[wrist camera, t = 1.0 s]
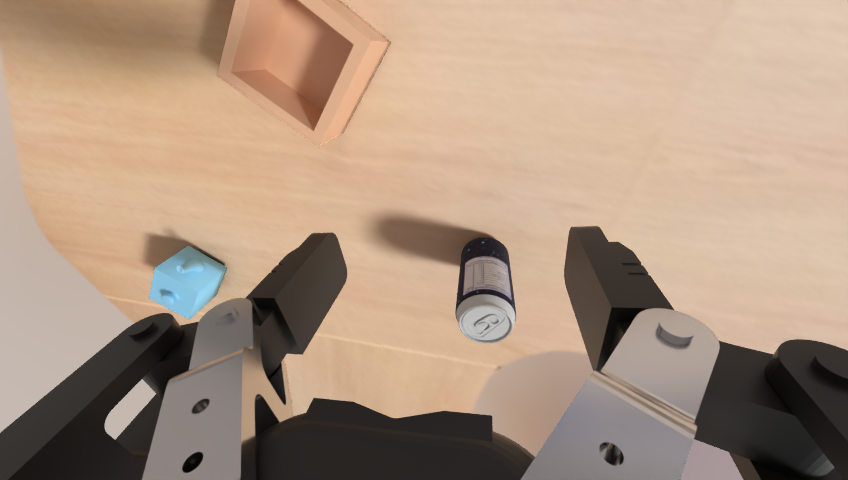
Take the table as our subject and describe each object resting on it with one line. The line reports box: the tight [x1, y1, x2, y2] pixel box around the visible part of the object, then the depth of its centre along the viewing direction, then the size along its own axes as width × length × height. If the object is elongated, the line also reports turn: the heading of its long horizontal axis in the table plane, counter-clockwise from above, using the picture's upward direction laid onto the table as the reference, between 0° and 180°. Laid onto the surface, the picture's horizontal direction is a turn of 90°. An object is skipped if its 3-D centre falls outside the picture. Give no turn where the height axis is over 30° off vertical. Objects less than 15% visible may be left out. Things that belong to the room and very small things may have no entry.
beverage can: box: [456, 238, 516, 343], centre depth 33 cm, size 6×6×12 cm
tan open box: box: [217, 0, 391, 147], centre depth 27 cm, size 10×10×6 cm
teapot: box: [149, 246, 227, 319], centre depth 44 cm, size 12×6×8 cm, turn 145°
